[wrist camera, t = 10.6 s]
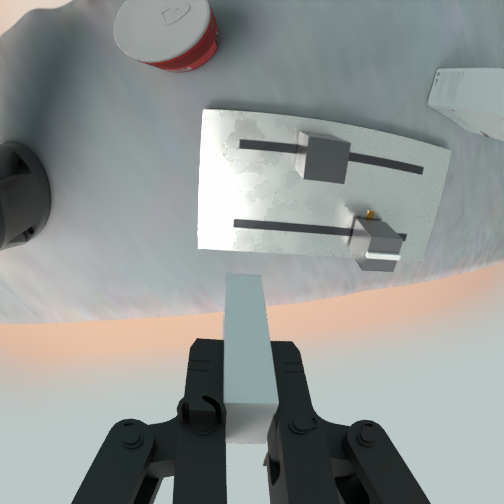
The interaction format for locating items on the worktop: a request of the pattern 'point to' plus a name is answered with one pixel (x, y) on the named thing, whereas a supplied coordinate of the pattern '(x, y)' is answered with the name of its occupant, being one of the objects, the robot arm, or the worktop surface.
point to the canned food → (167, 33)
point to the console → (312, 184)
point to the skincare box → (471, 99)
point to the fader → (375, 245)
